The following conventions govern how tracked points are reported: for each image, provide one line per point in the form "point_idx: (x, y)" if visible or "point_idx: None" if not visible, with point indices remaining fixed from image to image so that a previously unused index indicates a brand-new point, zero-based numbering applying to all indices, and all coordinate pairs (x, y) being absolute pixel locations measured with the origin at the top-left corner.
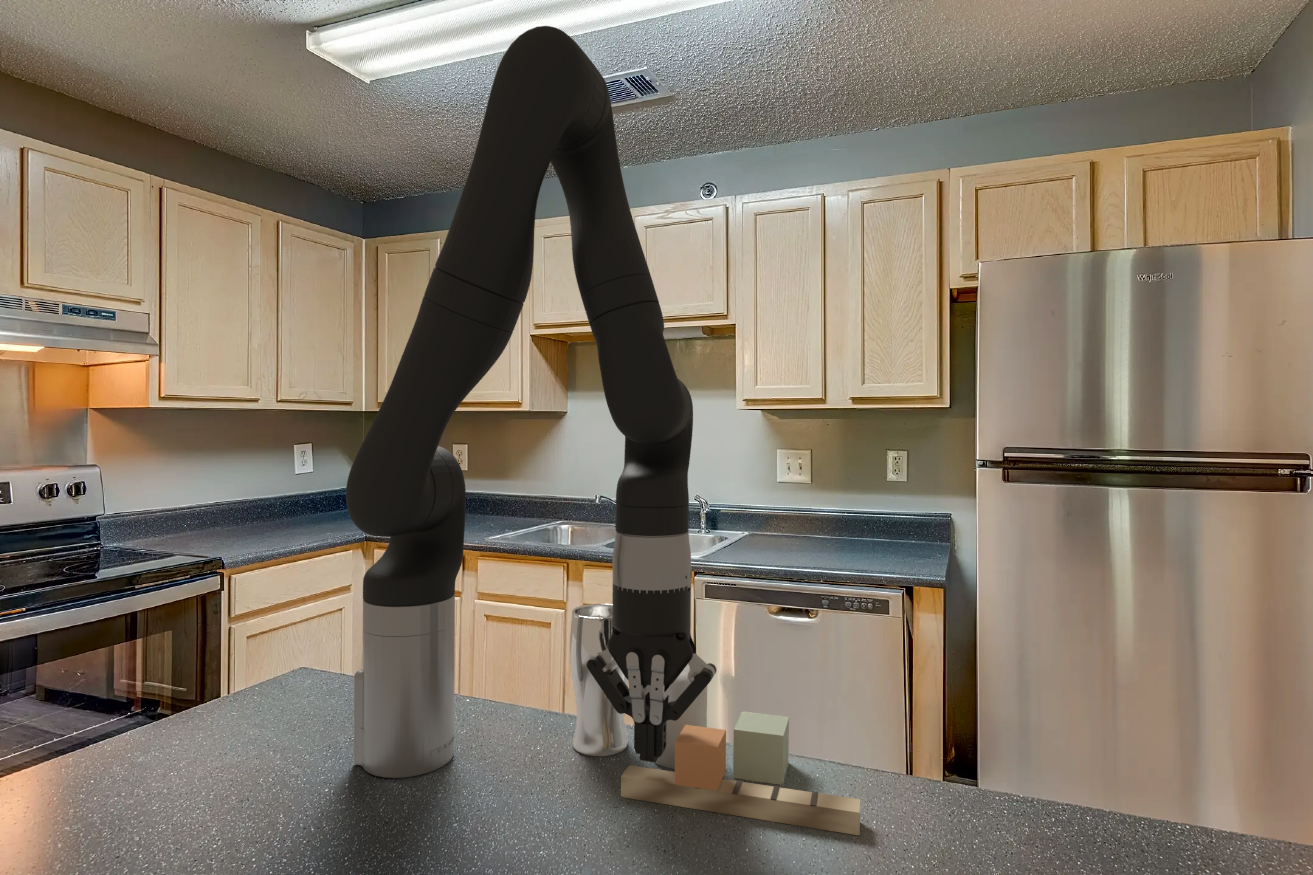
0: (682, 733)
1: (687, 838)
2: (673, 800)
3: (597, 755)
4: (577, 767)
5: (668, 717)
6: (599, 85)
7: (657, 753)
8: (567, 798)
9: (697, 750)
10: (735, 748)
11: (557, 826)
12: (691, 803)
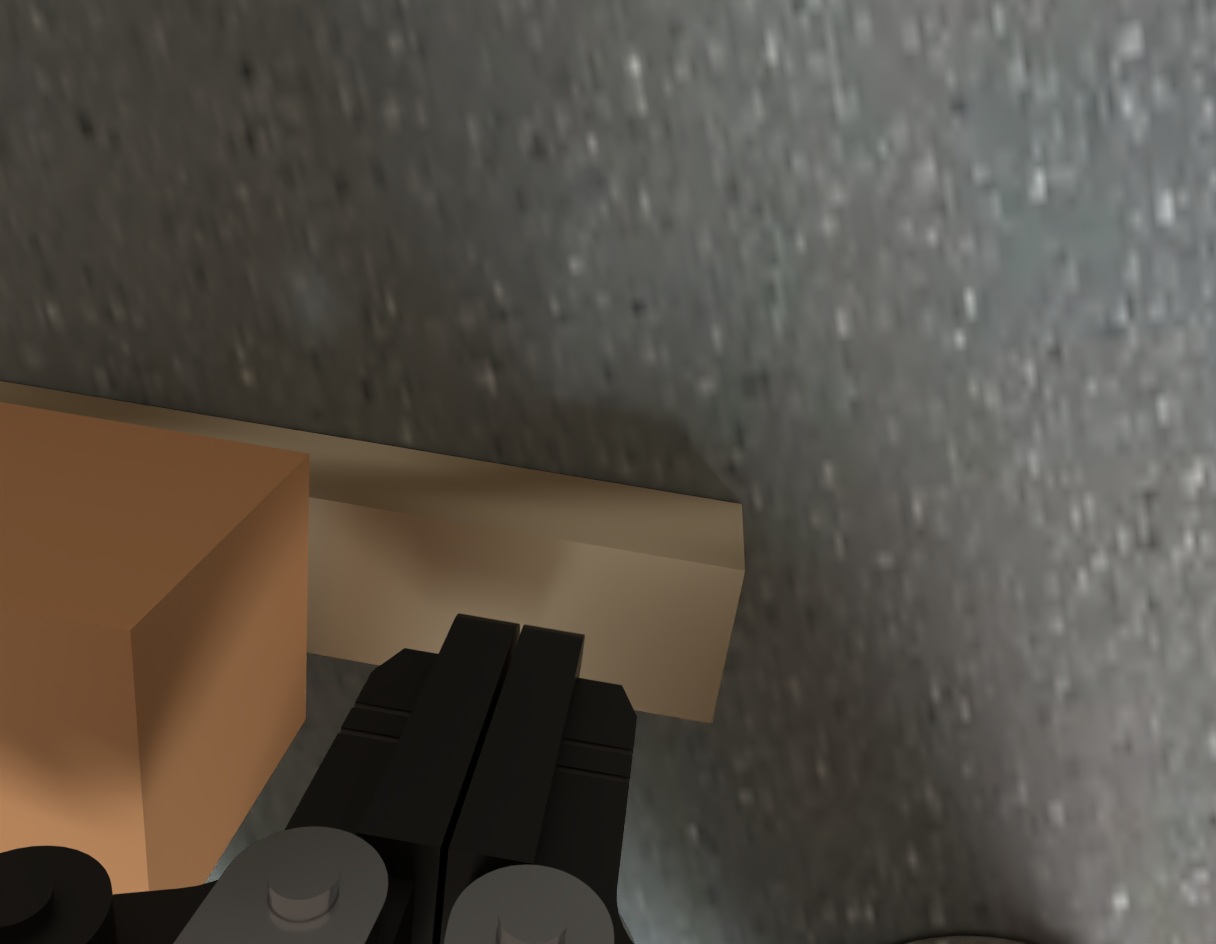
0: (118, 796)
1: (211, 59)
2: (380, 456)
3: (964, 938)
4: (1080, 813)
5: (156, 914)
6: None
7: (421, 663)
8: (1113, 443)
9: None
10: None
11: (1155, 51)
12: (262, 435)
